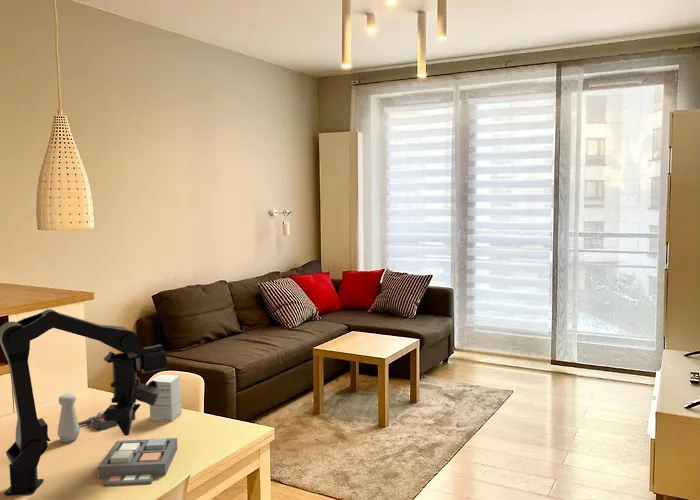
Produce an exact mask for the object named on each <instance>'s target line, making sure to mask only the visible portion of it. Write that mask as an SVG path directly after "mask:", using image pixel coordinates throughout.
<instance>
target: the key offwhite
mask: <svg viewBox="0 0 700 500" xmlns="http://www.w3.org/2000/svg"><path fill="white" fill-rule="evenodd" d="M139 449H140V443H123V444H122V446H121V447H120V449H119V450H118V451H128V450H133V451H139Z"/></svg>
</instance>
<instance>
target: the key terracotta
mask: <svg viewBox="0 0 700 500" xmlns="http://www.w3.org/2000/svg"><path fill="white" fill-rule="evenodd" d="M155 461H161V452H157V453H143V455H142V457H141V459H140V460H139V462H155Z"/></svg>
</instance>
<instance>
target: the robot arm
mask: <svg viewBox="0 0 700 500" xmlns="http://www.w3.org/2000/svg"><path fill="white" fill-rule="evenodd" d="M53 329H57V330H60V331H64V332H67V333H70V334H74V335H78V336H81V337H85V338H88V339H90V340H91V339H92V340H96V341H98V342H100V343H102V344H105V345H106V346H109V347H110V348H112V349H115V350H117V351H119V353H114V352H113V351H110V350H109V352H108V354H107V355H106V356H105V357H103V361H105V362H106V363H107V364H111V363H112V382H111V383H110V388H112V389H113V397H112V398H111V403H112V404H109V406H108V407H107V408H106V409H105V410H104V411H105V412H104V413H103V419H104V421H116V422H117V424H118V425H117V426H118V427H119V429H120V431H121V432H122V435H124V436H127V437H128V436H129V435H130V433H131V427H132V423H133V421H132V419H133V415H134V414H135V415H136V412H137V411H138V410H139V408H140V406H141V403H137V401H138V402H142V403H144V404H145V403H146V404H148V405H149V406H150V405H154V404H155V402H156V401H157V398H158V395H159V393H160V388H158V383H157V381H153V380H152V379H151V380H152V381H151V382H150V383H149V382H148V383H141V382H140V381H141V380H140V377H139V376H137V370H138V371H141V373H142V374H147V373H152V372H159V371H164V370H166V369H167V366H168V365H167V364H168V363H167V362H168V361H167V357H166V353H165V351H164V346H163V345H162V344H156V345H151V346H144V347H143V346H142V345H141V344H140V343H139V338H138V335H137V333H136V332H134V331H133V330H130V329H128V328H127V327H124V326H118V325H117V326H116V325H103V324H98V323H95V322H91V321H88V320H85V319H83V318H82V319H81V318H78V317H75V316H72V315H68V314H64V313H61V312H58V311H56V310H54V309H49V308H48V309H46V310H43V311H41V312H40V313H36V314H34V315H31V316H28V317H24V318H22V319H19V320H17V321H7V322H5V323H4V324H2V325H1V326H0V346H1V349H2V351H3V354H4V355H5V358H6V360H7V363H8V369H9V375H10V380H11V385H12V391H13V392H12V393H13V398H14V404H15V411H16V416H17V421H16V427H15V441H14V442H13V444H12V445H11V446H10V447H9V448H8V449H7V450H6V451H5V455H6V457H7V459H8V461H9V462H10V463H9V464H8V467H9V468H8V469H9V482H10V483H9V484H10V486H9V487H8V488H7V489H5V491H4V496H5V495H7V496H9V495H25V494H27V495H29V494H33V493H35V492H36V490H38V488H39V487H40V486H41V485H42V484H43V483H44V481H45V480H44V478H38V466H39V462H40V460H41V457H42V455H44V454H45V452H46V451H47V449H48V445H49V443H48V442H51V439H50V437H49V435H48V431H49V428H48V427H49V426H48V424H47V422H46V420H44V418H42V417H41V418H38V416H37V409H36V408H37V407H36V403H35V397H34V391H33V385H32V384H33V383H32V380H31V379H32V378H31V372H30V366H29V356H30V351H31V350H30V349H31V341H33V340H35V339H38V338H39V337H40V336H42V335H44V334H45V333H47V332H48V331H50V330H53ZM130 352H131V354H128V353H130Z"/></svg>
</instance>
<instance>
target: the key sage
mask: <svg viewBox="0 0 700 500" xmlns="http://www.w3.org/2000/svg"><path fill="white" fill-rule="evenodd" d="M132 459H133V450H128V451H115V452H114V454H113V455H112V457H111V458H110V464H115V463H131V461H132Z"/></svg>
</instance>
